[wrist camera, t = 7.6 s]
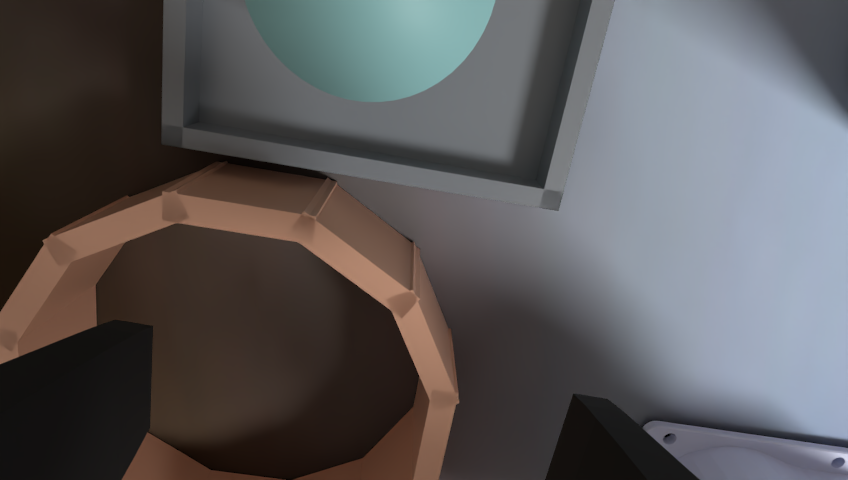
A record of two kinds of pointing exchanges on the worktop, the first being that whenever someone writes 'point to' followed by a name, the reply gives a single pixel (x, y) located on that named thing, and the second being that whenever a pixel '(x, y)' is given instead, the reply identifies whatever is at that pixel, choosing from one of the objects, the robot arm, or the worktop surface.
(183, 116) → the tray
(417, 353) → the tan faceted hollow ring
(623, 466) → the robot arm
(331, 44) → the peg
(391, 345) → the worktop surface
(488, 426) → the worktop surface
